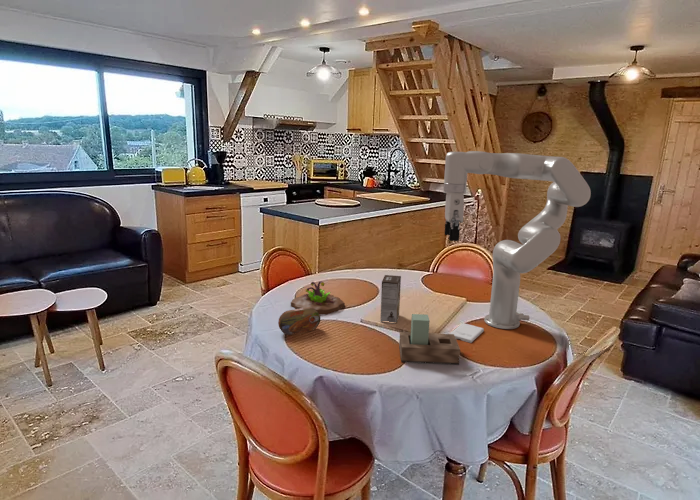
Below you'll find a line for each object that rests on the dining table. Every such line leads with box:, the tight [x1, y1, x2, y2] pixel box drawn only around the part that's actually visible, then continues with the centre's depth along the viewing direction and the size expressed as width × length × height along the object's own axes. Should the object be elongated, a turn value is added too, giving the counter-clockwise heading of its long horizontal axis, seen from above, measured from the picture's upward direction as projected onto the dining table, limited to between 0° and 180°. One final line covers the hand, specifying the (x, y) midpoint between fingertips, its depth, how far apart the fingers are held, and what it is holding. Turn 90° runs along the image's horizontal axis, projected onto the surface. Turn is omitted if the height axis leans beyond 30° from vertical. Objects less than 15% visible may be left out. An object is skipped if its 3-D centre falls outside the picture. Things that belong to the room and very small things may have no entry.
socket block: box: [398, 331, 461, 366], centre depth 139 cm, size 18×11×5 cm, turn 87°
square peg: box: [410, 313, 430, 345], centre depth 139 cm, size 5×5×12 cm
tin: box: [278, 307, 321, 336], centre depth 155 cm, size 15×3×8 cm, turn 117°
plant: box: [290, 280, 346, 316], centre depth 179 cm, size 20×20×11 cm
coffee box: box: [379, 274, 402, 323], centre depth 167 cm, size 9×6×16 cm
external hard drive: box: [449, 322, 485, 344], centre depth 156 cm, size 2×8×12 cm
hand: (451, 237), depth 155 cm, fingers open, 9 cm apart
